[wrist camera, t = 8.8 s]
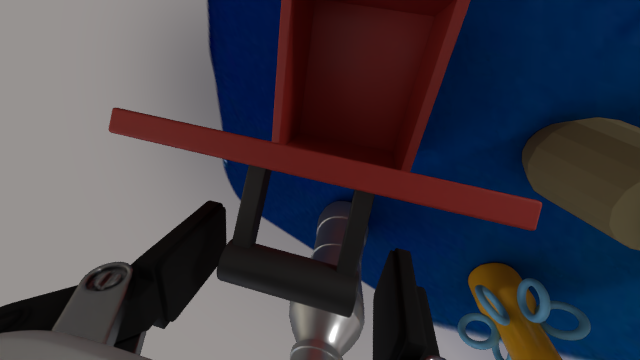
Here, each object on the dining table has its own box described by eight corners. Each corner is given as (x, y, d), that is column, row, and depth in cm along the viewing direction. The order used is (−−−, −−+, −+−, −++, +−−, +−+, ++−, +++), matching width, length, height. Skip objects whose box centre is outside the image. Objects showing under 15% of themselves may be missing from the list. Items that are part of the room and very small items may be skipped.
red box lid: (111, 106, 8) (78, 273, 8) (544, 201, 6) (492, 402, 6) (269, 154, 23) (256, 211, 23) (406, 185, 22) (391, 245, 22)
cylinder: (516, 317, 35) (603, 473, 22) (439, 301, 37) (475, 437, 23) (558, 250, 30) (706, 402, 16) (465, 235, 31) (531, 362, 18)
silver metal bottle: (360, 189, 32) (342, 352, 14) (375, 232, 34) (374, 418, 16) (314, 200, 34) (246, 353, 16) (331, 240, 36) (287, 413, 18)
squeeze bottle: (500, 184, 28) (668, 348, 12) (519, 111, 25) (787, 201, 9) (586, 186, 26) (917, 379, 10) (619, 108, 23) (1188, 212, 7)
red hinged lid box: (310, -11, 24) (283, -41, 17) (445, 9, 22) (476, -16, 15) (294, 135, 30) (270, 157, 23) (397, 157, 29) (404, 187, 22)
